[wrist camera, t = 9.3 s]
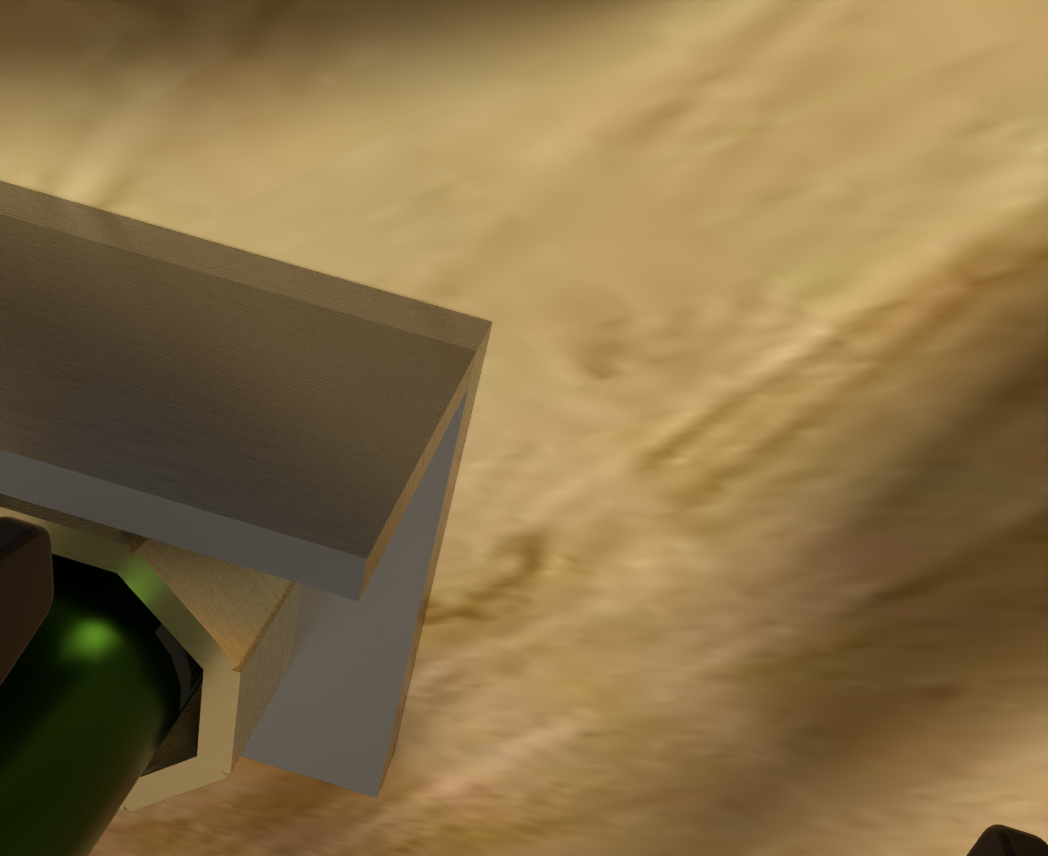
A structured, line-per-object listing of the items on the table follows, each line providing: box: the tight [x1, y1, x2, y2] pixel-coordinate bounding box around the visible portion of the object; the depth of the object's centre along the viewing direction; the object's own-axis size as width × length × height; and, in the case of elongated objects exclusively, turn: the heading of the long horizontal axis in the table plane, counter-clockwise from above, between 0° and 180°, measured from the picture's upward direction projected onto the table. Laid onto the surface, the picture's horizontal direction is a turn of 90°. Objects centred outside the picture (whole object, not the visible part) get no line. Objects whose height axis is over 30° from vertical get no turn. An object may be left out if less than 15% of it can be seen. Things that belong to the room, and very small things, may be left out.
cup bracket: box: [0, 181, 492, 812], centre depth 21 cm, size 14×14×8 cm
